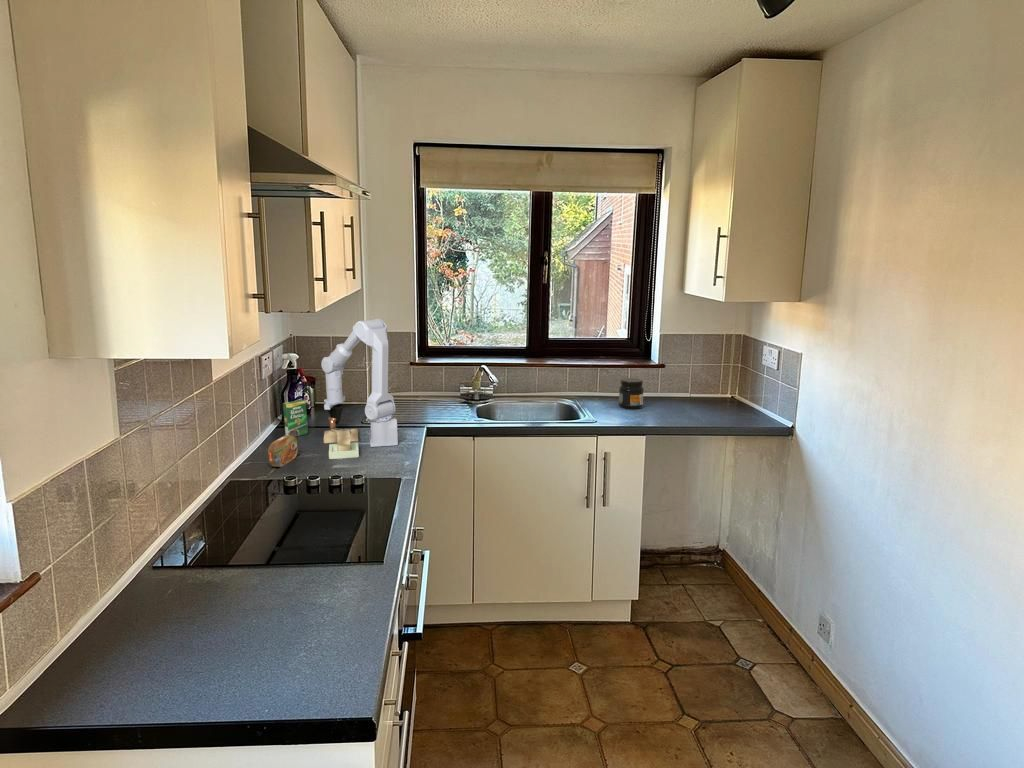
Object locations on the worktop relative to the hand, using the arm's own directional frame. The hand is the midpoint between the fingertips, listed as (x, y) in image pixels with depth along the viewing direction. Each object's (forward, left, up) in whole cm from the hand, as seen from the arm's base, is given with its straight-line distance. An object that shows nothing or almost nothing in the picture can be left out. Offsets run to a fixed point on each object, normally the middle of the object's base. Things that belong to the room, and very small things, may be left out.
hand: (336, 423), depth 256 cm
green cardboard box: (+14, +1, -4) cm, 15 cm away
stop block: (-3, +27, -3) cm, 27 cm away
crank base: (-2, +7, -3) cm, 8 cm away
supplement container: (-124, -12, -4) cm, 124 cm away
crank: (-1, +5, -2) cm, 6 cm away
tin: (+16, +32, -4) cm, 36 cm away
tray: (-3, +27, -3) cm, 27 cm away
